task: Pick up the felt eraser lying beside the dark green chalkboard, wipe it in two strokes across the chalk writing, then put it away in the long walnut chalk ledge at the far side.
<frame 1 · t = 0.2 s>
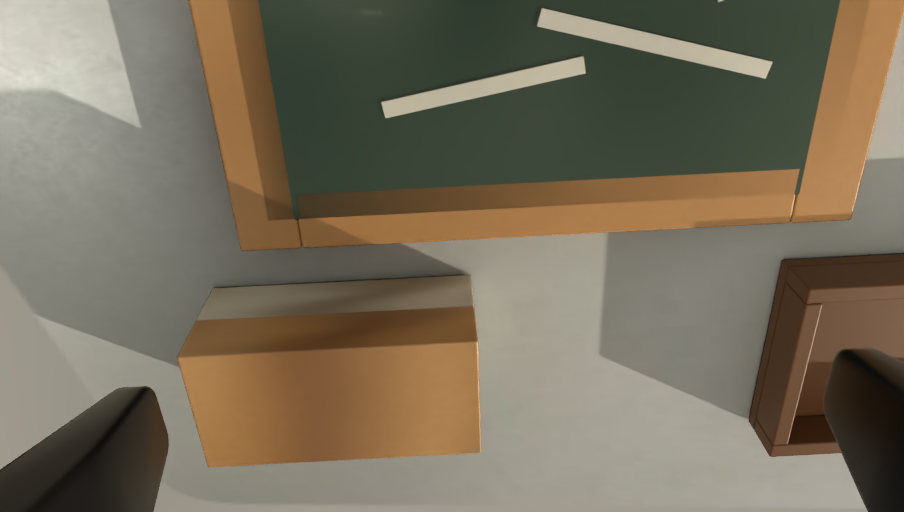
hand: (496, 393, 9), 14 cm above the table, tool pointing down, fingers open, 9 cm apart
eraser: (348, 334, 25), on the table
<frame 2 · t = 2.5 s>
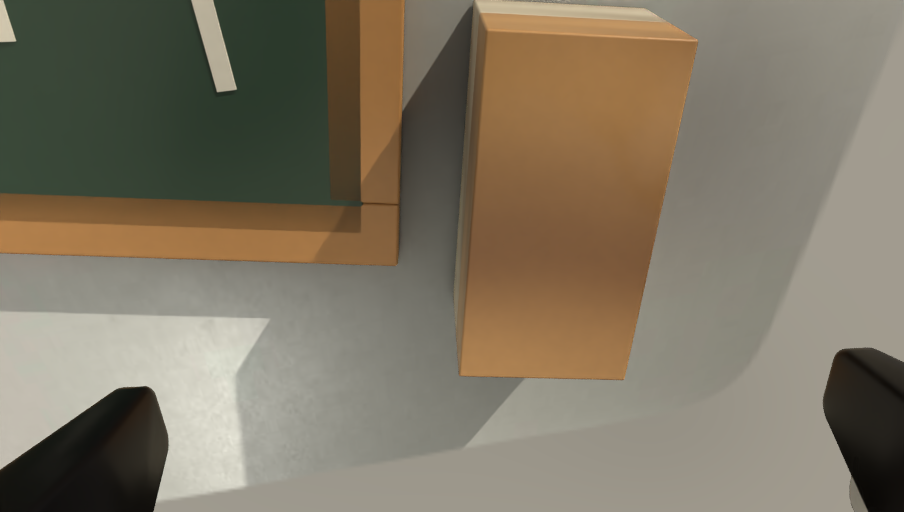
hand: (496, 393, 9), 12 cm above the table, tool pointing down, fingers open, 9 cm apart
eraser: (540, 167, 20), on the table
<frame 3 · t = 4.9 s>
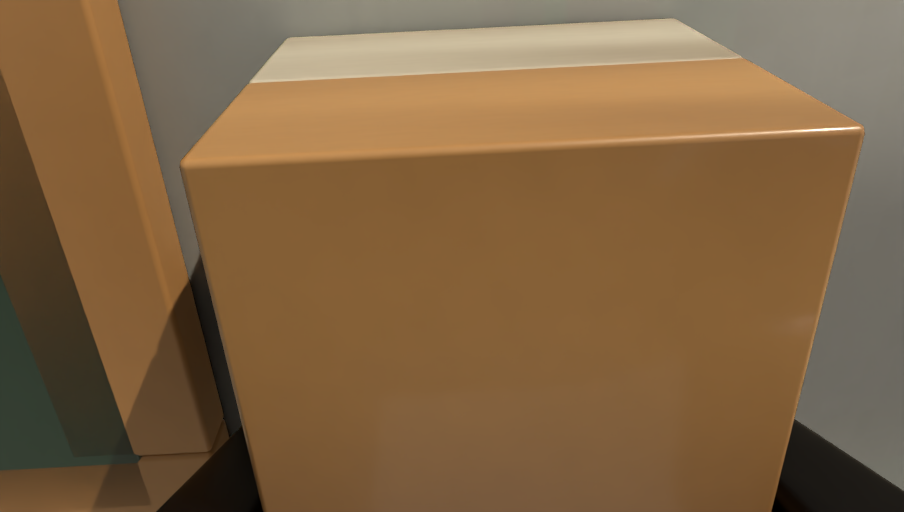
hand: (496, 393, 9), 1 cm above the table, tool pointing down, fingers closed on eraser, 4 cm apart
eraser: (488, 347, 10), on the table, touching gripper
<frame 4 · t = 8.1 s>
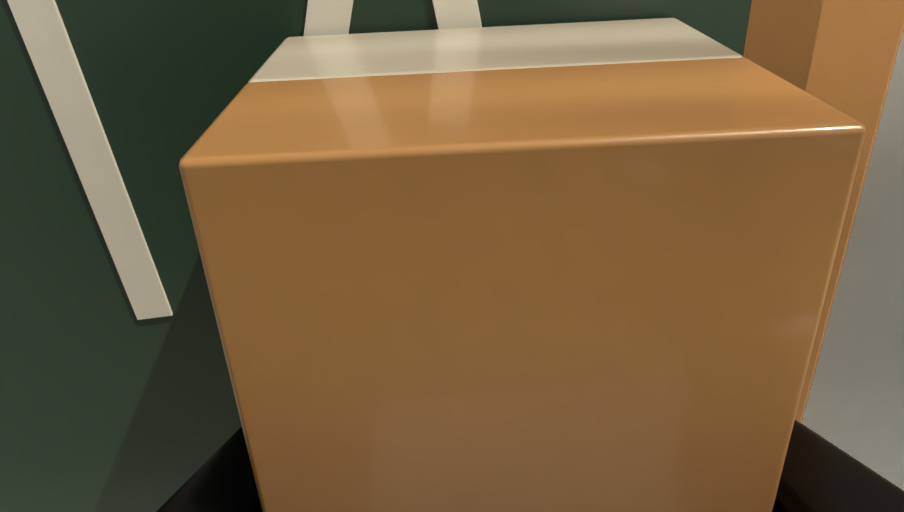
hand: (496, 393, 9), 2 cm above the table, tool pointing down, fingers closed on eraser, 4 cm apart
chalkboard: (241, 5, 9), on the table
eraser: (488, 347, 10), point 1 cm above the table, touching gripper
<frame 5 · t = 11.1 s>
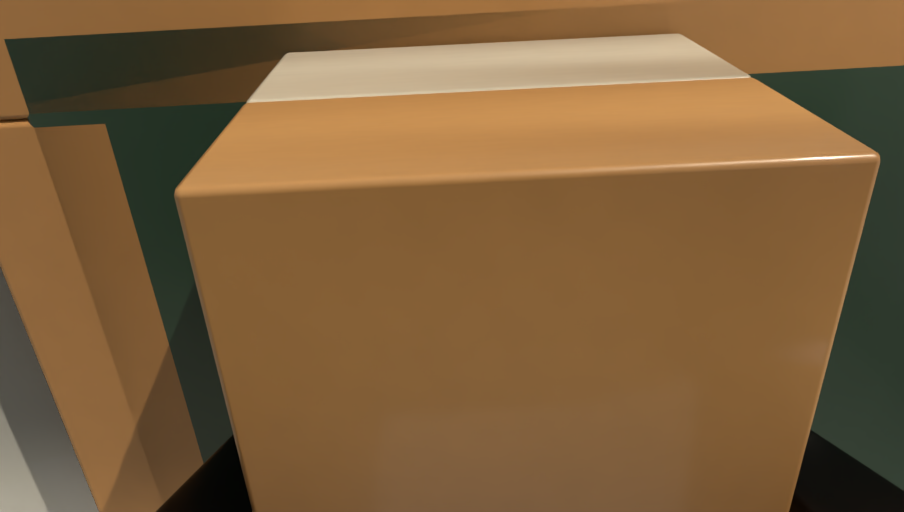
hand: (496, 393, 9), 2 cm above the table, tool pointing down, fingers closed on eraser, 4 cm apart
eraser: (490, 364, 10), point 1 cm above the table, touching gripper
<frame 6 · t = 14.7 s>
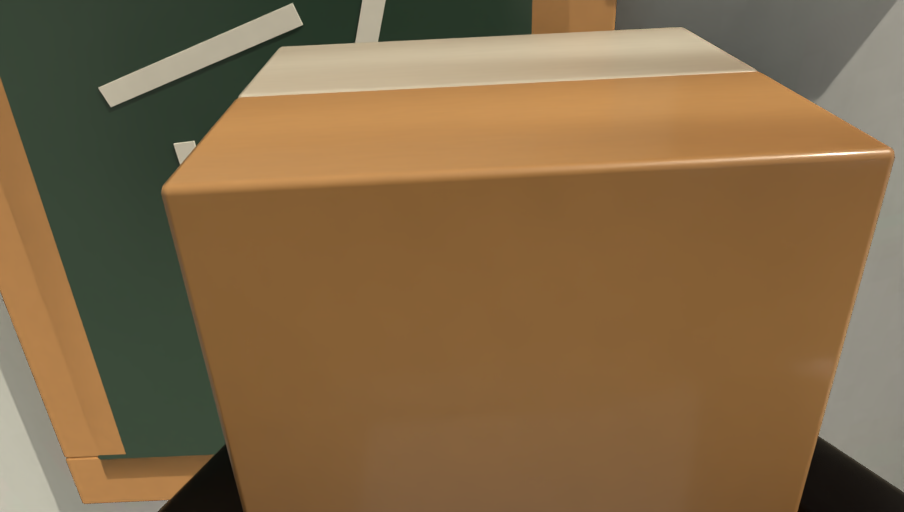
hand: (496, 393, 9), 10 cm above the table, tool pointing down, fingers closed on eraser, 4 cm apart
chalkboard: (294, 200, 19), on the table
eraser: (488, 364, 10), point 9 cm above the table, touching gripper
when the fingers open (3 cm above the table, at t = 17.7 s): eraser stays where it is, resting on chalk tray.
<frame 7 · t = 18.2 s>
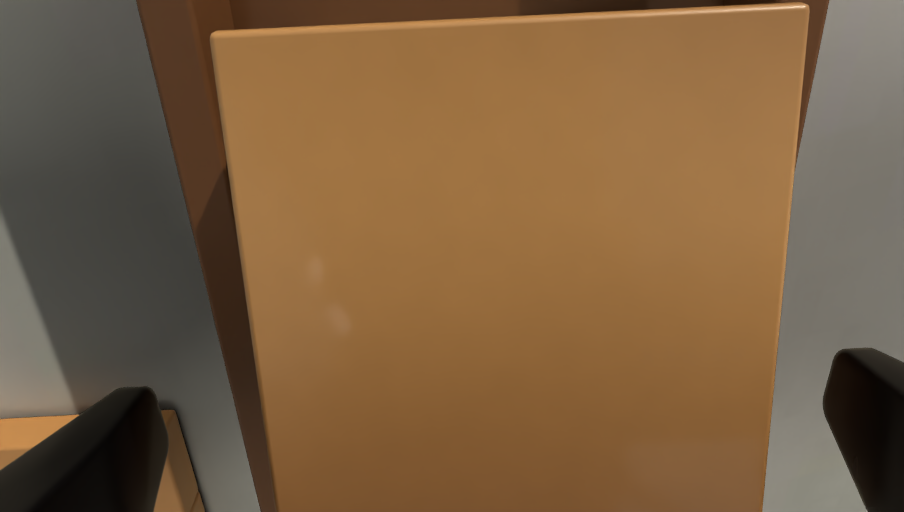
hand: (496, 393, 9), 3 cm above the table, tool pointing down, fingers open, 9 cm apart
eraser: (489, 349, 10), point 1 cm above the table, tilted 12°, touching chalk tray
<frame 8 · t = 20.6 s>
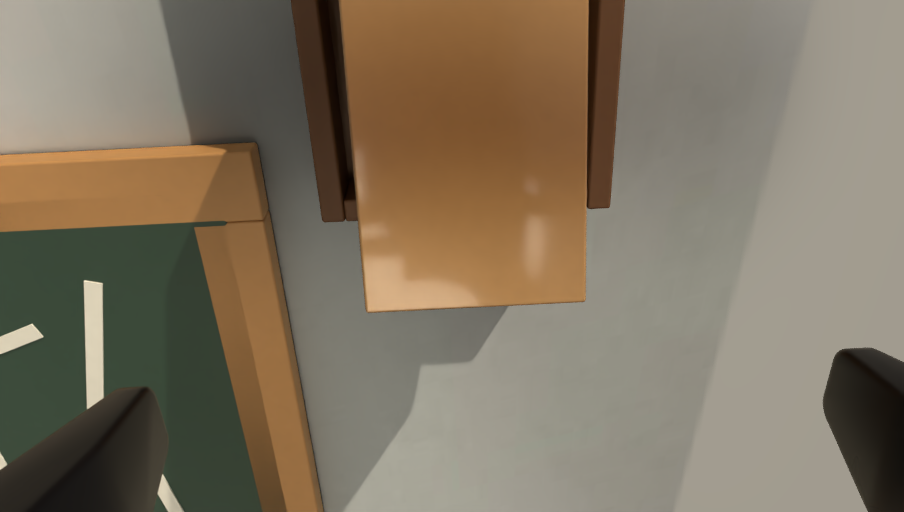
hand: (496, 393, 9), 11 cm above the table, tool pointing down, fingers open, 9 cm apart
chalkboard: (70, 437, 24), on the table
eraser: (460, 72, 17), point 1 cm above the table, tilted 12°, touching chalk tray
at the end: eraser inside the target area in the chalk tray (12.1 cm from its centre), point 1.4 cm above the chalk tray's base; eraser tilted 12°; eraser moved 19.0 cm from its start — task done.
